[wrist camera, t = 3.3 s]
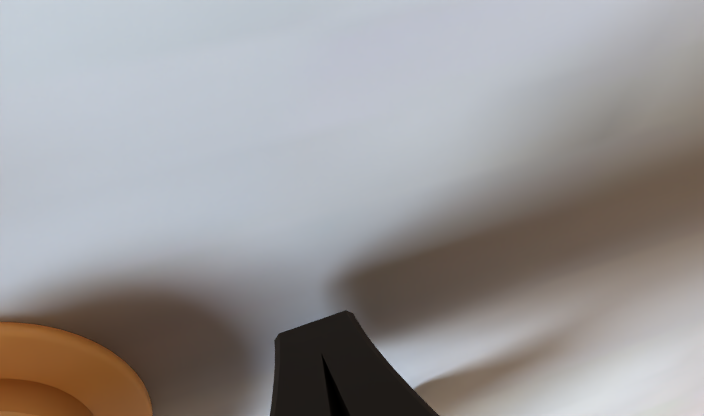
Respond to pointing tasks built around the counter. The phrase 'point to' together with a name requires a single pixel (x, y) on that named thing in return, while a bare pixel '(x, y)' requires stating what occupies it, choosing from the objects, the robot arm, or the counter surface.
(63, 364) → the door knob
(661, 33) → the counter surface
